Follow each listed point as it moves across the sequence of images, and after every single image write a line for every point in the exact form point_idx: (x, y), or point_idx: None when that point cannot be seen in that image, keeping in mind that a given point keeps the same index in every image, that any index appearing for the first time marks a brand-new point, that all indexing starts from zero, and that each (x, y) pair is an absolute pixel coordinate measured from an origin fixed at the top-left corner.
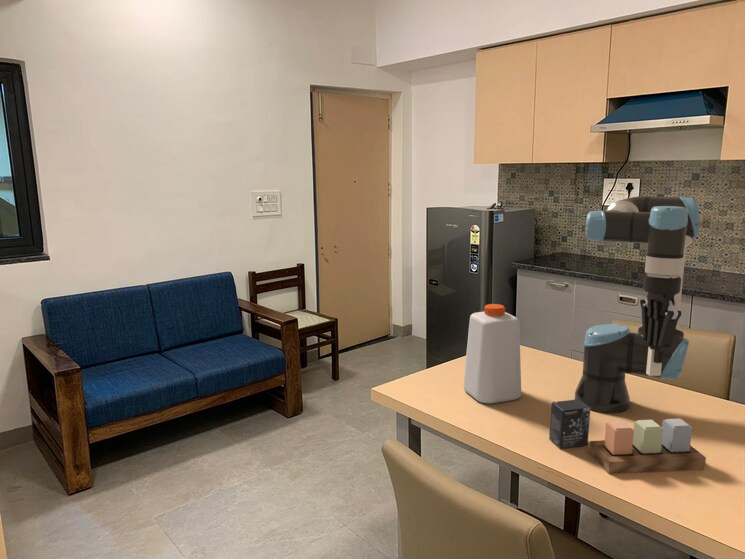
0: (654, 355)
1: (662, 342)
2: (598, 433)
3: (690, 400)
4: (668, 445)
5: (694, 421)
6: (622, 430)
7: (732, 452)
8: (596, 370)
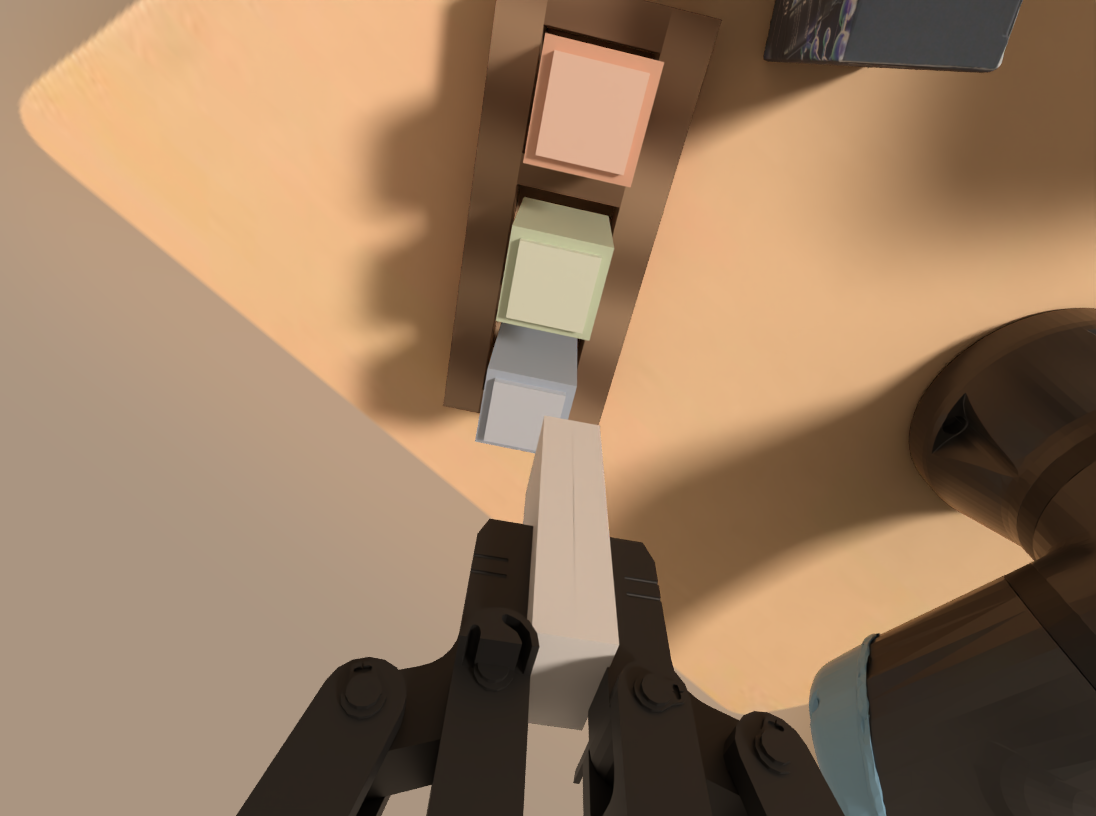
0: (523, 581)
1: (265, 779)
2: (827, 203)
3: (830, 654)
4: (522, 332)
5: (718, 573)
6: (537, 88)
7: None
8: None
